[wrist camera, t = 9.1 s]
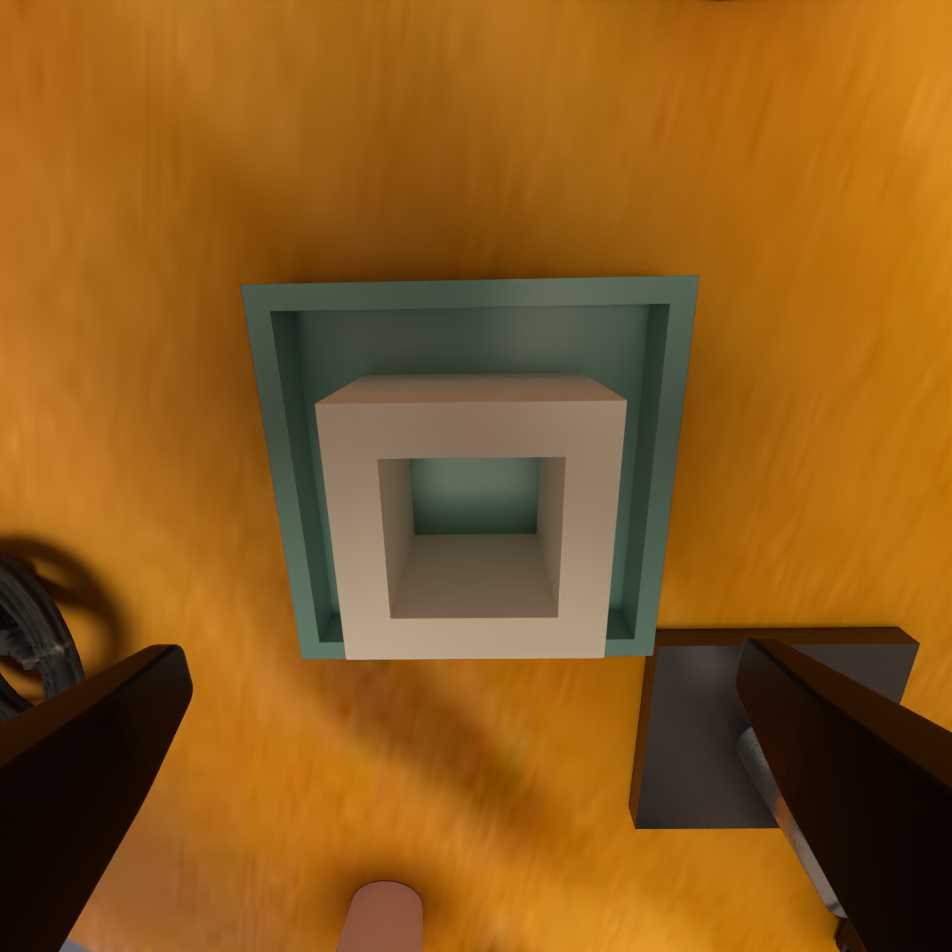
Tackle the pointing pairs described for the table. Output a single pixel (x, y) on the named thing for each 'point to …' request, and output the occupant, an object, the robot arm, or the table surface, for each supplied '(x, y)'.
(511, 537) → the collar
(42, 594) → the milk frother
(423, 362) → the tray
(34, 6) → the table surface
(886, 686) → the metal post stand
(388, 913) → the smoothie
